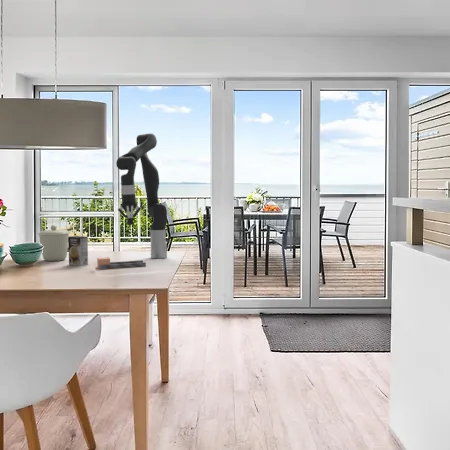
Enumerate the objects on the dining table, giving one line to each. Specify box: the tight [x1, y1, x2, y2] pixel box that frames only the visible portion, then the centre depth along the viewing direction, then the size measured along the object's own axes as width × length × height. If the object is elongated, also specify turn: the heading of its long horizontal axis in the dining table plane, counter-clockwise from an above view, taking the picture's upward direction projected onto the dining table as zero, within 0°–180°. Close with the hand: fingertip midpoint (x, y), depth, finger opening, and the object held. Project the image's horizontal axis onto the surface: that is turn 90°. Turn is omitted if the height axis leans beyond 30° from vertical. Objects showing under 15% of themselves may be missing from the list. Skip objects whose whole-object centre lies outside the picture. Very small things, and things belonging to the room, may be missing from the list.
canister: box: [37, 224, 70, 262], centre depth 304 cm, size 18×18×21 cm
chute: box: [99, 260, 147, 270], centre depth 272 cm, size 24×10×3 cm, turn 110°
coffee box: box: [68, 235, 89, 267], centre depth 285 cm, size 9×6×16 cm
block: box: [96, 256, 111, 270], centre depth 269 cm, size 6×6×5 cm
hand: (130, 224), depth 280 cm, fingers closed
